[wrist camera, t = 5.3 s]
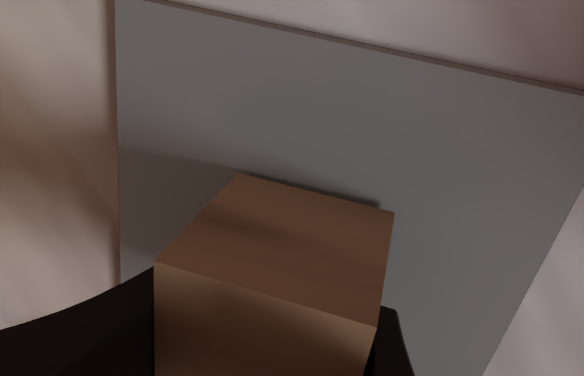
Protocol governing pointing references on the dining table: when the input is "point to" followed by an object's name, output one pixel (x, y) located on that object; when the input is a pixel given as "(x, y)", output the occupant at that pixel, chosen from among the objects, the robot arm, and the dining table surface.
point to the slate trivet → (352, 158)
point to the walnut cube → (271, 285)
